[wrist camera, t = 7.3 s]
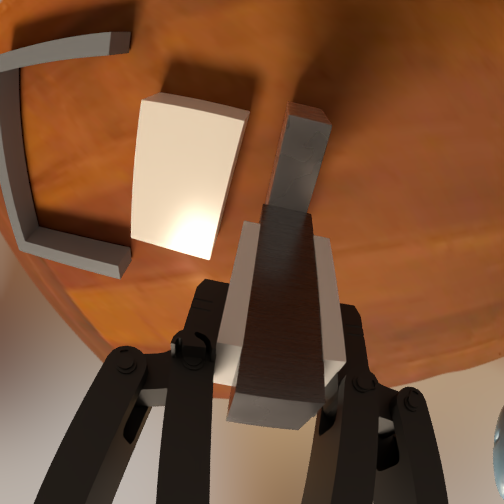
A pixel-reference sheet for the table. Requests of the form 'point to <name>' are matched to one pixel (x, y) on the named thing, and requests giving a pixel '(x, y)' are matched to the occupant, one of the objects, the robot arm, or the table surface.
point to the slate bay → (14, 166)
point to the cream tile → (184, 171)
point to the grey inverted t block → (285, 289)
